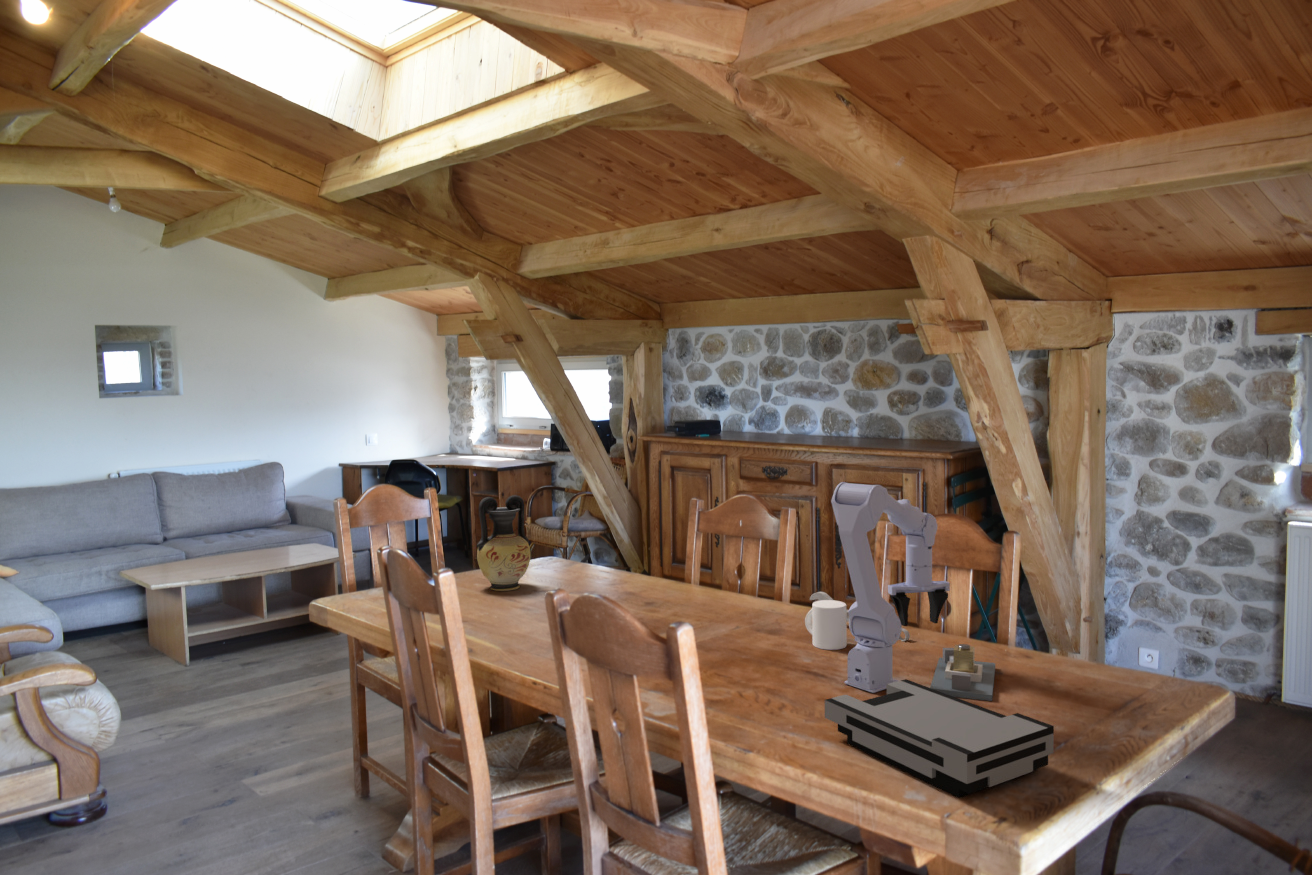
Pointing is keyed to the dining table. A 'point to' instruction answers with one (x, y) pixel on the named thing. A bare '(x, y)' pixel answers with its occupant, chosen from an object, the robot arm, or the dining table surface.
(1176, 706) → the dining table surface
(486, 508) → the amphora
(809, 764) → the dining table surface
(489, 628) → the dining table surface
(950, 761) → the game console
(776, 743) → the dining table surface
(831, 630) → the mug
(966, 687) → the base
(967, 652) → the block
